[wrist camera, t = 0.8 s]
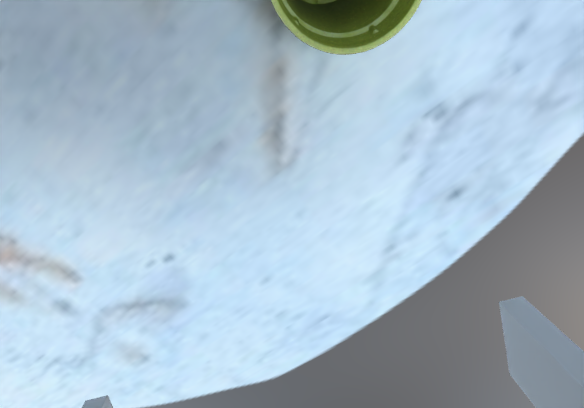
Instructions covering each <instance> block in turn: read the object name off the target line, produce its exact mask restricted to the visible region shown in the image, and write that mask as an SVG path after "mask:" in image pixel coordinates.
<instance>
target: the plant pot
mask: <svg viewBox="0 0 584 408" xmlns="http://www.w3.org/2000/svg"><path fill="white" fill-rule="evenodd" d="M421 1H422V0H271V2H272V4H273V6H274V8H275V10H276V12H277V14H278V16H279V17H280V19H281V20H282V22H283V23H284V24H285V25H286V27H287V28H288V29H289V30H290V31H291V32H292V33H293V34H294V35H295V36H296V37H297V38H299V39H300V40H301V41H303V42H304V43H306V44H308V45H309V46H311V47H313V48H316V49H318V50H321V51H324V52H327V53H332V54H341V55H346V54H356V53H361V52H365V51H368V50H371V49H373V48H375V47H377V46H379V45H381V44H383V43H384V42H386V41H388V40H389V39H391V38H392V37H393V36H395V35H396V34H397V33H398V32H399V31H400V30H401V29H402V28H403V27H404V26H405V25H406V24H407V23H408V21H409V20H410V19H411V17H412V16H413V15H414V13H415V12H416V10H417V8H418V7H419V5H420V3H421Z"/></svg>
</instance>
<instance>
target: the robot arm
mask: <svg viewBox="0 0 584 408" xmlns="http://www.w3.org/2000/svg"><path fill="white" fill-rule="evenodd" d="M499 305H500V312H501V319H502V326H503V333H504V339H505V347H506V353H507V361H508V367H509V374H510V375H511V377H512V378H513V379H514V380H515V382H516V383H517V384H518V386H519V387H520V388H521V389H522V391H523V392H524V393H525V395H526V396H527V397H528V398H529V400H530V401H531V402H532V403H533V405H534V406H535V407H536V408H584V351H583V350H582V349H580V348H579V347H578V346H577V345H576V344H575V343H574V342H573V341H572V340H570V339H569V338H568V337H567V336H566V335H565V334H564V333H563V332H562V331H560V330H559V329H558V328H557V327H556V326H555V325H554V324H553V323H551V322H550V321H549V320H548V319H547V318H546V317H545V316H544V315H542V313H540V312H539V311H538V310H537V309H536V308H535V307H534V306H533V305H532V304H530V303H529V302H528V301H527V300H526V299H525V298H524V297H523V296H521V297H517V298H513V299H509V300H505V301H501V302H499ZM82 408H113V406H112V404H111V402H110V399H109V397H108V395H107V396H103V397H99V398H95V399H91V400H87V401H85V403H84V405H83V406H82Z"/></svg>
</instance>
